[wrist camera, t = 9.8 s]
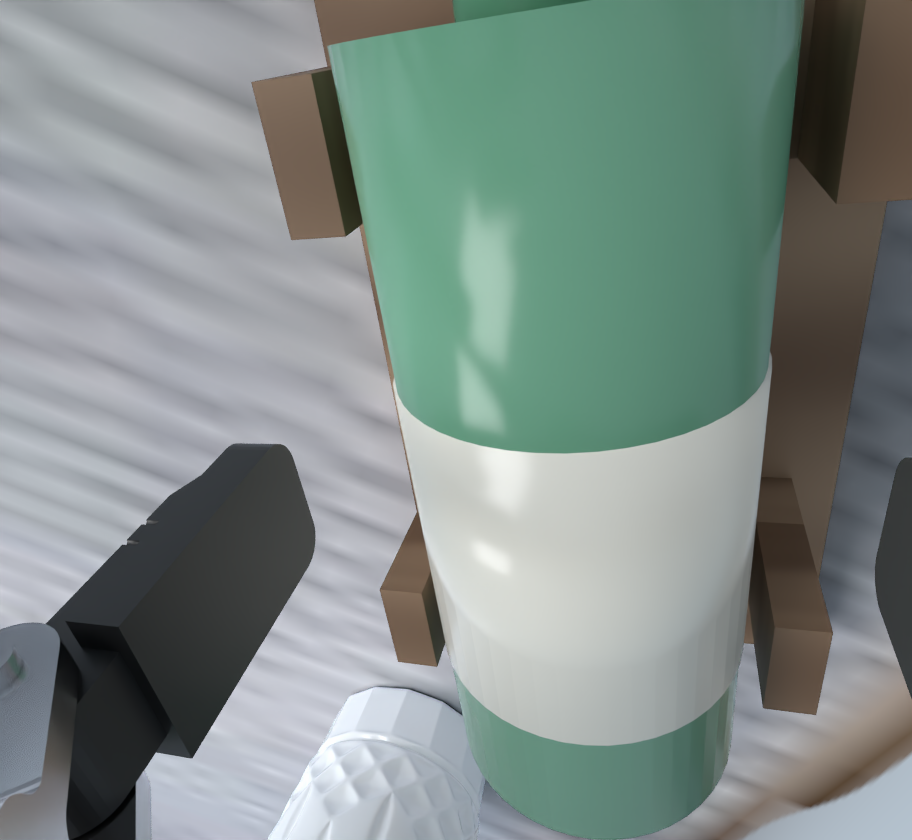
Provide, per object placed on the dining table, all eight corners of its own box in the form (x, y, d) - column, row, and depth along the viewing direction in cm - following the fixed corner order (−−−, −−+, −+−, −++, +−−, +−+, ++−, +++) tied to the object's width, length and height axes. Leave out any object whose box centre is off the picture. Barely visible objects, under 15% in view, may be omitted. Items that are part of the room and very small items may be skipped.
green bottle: (280, -427, 9) (-8, -1055, 4) (748, -539, 8) (1171, -1479, 3) (466, 616, 19) (457, 846, 13) (693, 601, 18) (776, 837, 13)
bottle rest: (311, -138, 14) (104, -219, 9) (952, -293, 11) (1219, -563, 6) (446, 585, 24) (386, 746, 19) (799, 618, 20) (843, 822, 15)
